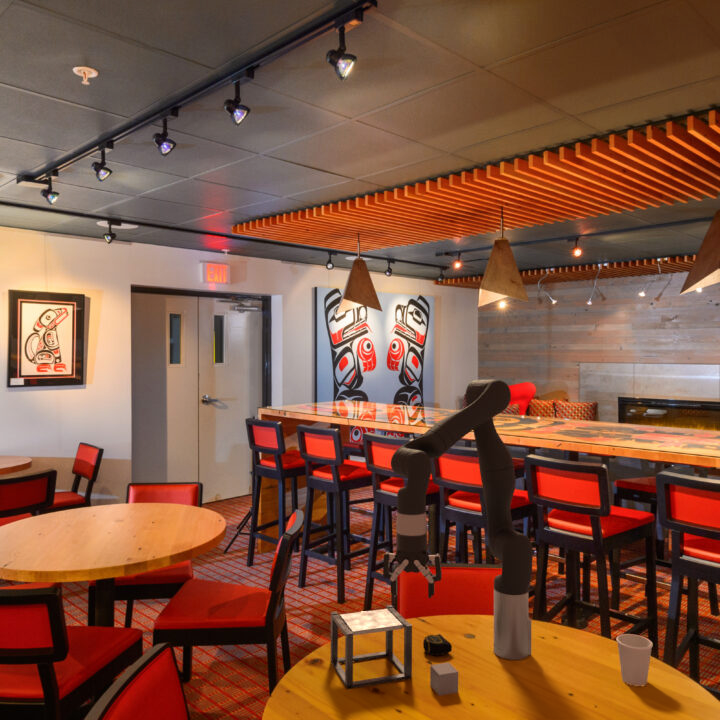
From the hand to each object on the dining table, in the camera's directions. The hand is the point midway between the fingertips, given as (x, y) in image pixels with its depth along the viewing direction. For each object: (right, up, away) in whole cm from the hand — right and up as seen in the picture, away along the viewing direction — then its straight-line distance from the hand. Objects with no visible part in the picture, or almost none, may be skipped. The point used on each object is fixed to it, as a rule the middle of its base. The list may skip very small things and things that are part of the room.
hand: (412, 596), depth 155 cm
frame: (-10, -22, +7) cm, 25 cm away
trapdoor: (-10, -10, +7) cm, 16 cm away
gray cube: (+7, -22, -2) cm, 23 cm away
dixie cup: (+55, -22, +2) cm, 60 cm away
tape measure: (+8, -22, +18) cm, 30 cm away
